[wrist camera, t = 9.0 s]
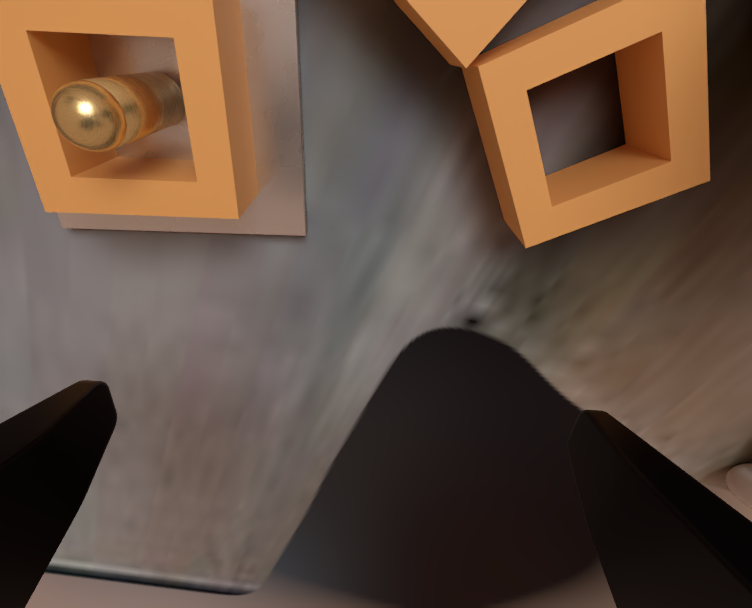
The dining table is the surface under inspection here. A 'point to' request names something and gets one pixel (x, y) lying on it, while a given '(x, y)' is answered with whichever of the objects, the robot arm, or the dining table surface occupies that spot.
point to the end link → (105, 169)
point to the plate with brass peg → (170, 128)
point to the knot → (741, 482)
